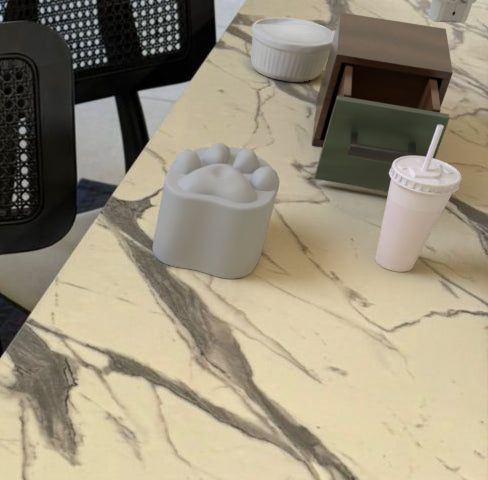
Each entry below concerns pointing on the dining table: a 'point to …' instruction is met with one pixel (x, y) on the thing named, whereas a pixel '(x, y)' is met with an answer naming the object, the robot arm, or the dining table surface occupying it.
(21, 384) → the dining table surface
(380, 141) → the drawer
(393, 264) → the smoothie
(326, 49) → the ramekin
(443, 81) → the cabinet
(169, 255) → the lumpy-topped squat cylinder
